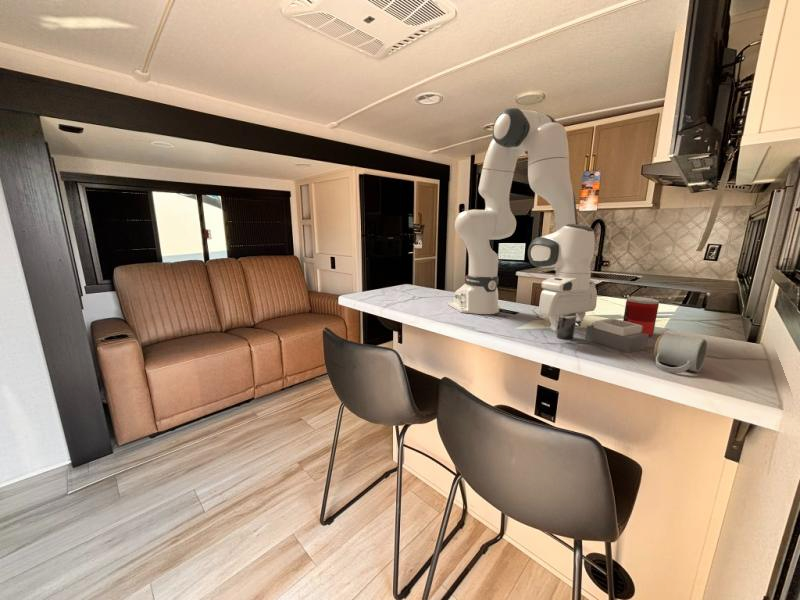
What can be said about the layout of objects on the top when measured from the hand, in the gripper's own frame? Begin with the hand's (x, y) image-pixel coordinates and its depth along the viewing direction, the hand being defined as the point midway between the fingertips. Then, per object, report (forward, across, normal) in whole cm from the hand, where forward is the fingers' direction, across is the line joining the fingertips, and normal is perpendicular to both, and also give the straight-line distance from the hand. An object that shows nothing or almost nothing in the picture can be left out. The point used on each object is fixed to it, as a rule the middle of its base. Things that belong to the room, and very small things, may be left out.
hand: (565, 327), depth 93 cm
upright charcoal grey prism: (+3, 0, 0) cm, 3 cm away
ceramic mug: (+3, -6, +25) cm, 26 cm away
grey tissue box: (+3, -9, +9) cm, 13 cm away
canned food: (+3, -25, +6) cm, 26 cm away
